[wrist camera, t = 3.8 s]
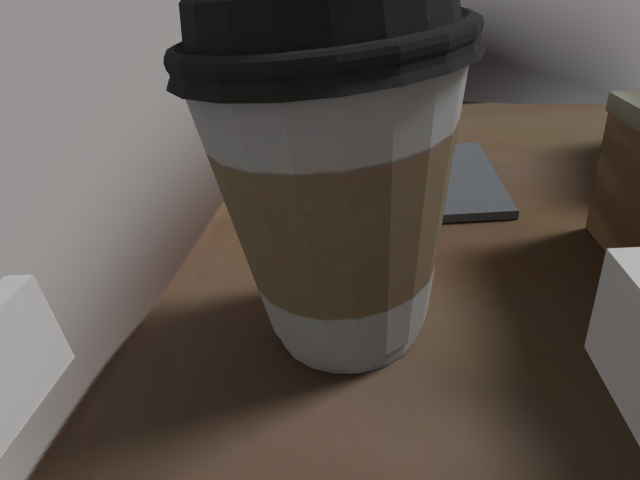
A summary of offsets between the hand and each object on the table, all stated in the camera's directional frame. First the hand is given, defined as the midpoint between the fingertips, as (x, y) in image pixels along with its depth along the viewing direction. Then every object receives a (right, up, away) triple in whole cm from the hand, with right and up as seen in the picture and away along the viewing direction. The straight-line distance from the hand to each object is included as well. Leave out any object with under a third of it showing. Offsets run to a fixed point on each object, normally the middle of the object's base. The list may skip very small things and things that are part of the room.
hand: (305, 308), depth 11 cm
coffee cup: (+2, -3, +12) cm, 13 cm away
